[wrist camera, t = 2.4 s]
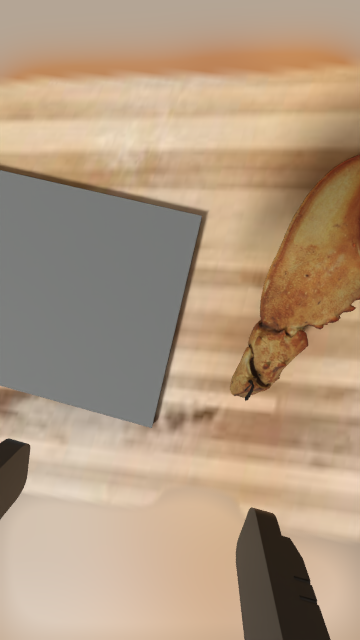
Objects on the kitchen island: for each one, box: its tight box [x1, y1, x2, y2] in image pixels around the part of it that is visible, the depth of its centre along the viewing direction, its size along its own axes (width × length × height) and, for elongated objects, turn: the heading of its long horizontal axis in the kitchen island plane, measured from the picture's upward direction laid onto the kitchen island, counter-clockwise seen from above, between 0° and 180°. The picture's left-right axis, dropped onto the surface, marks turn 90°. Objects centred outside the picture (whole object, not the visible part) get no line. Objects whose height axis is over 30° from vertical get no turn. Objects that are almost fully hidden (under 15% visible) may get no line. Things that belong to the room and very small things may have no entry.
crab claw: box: [230, 155, 360, 401], centre depth 18 cm, size 7×5×20 cm
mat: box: [0, 170, 202, 428], centre depth 22 cm, size 26×19×1 cm
